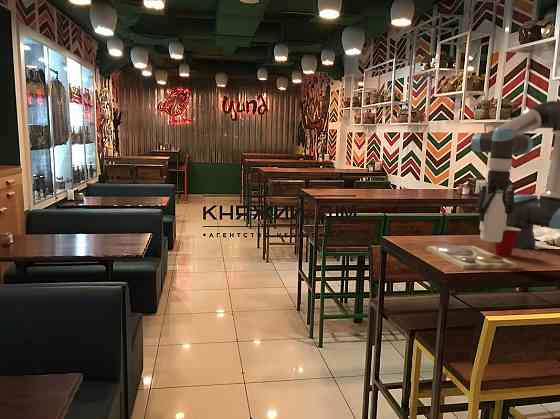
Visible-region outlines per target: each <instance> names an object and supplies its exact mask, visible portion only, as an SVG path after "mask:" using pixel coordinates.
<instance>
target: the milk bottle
mask: <svg viewBox="0 0 560 419" xmlns="http://www.w3.org/2000/svg"><path fill="white" fill-rule="evenodd" d="M497 193H499V194H497ZM490 194H491V193H490ZM502 195H503V190H502V189H498V190H497V191H496V194H495V196H494V197H493V198H492V200H491V202H490V204H489V206H488V208H487V210H486V212H485V213H487V221H486V229H485V231H483V230H480V240H481V241H484V242H490V243H494V242H501V241H502V237H503V229H504V221H505V206H504V203H503V200H502Z"/></svg>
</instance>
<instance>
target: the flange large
mask: <svg viewBox="0 0 560 419" xmlns="http://www.w3.org/2000/svg"><path fill="white" fill-rule="evenodd" d="M435 246H436V250H438V251H440V252H443V253H446V254H452V255H471V254H472V252H473V251H472V250H471V249H469V248H466V247H462V246H463V245H453V244H439V245H435Z"/></svg>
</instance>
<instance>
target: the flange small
mask: <svg viewBox="0 0 560 419" xmlns="http://www.w3.org/2000/svg"><path fill="white" fill-rule="evenodd" d="M461 261H463V262H467V263H475V259H473V258H469V257H462V258H461Z"/></svg>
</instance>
